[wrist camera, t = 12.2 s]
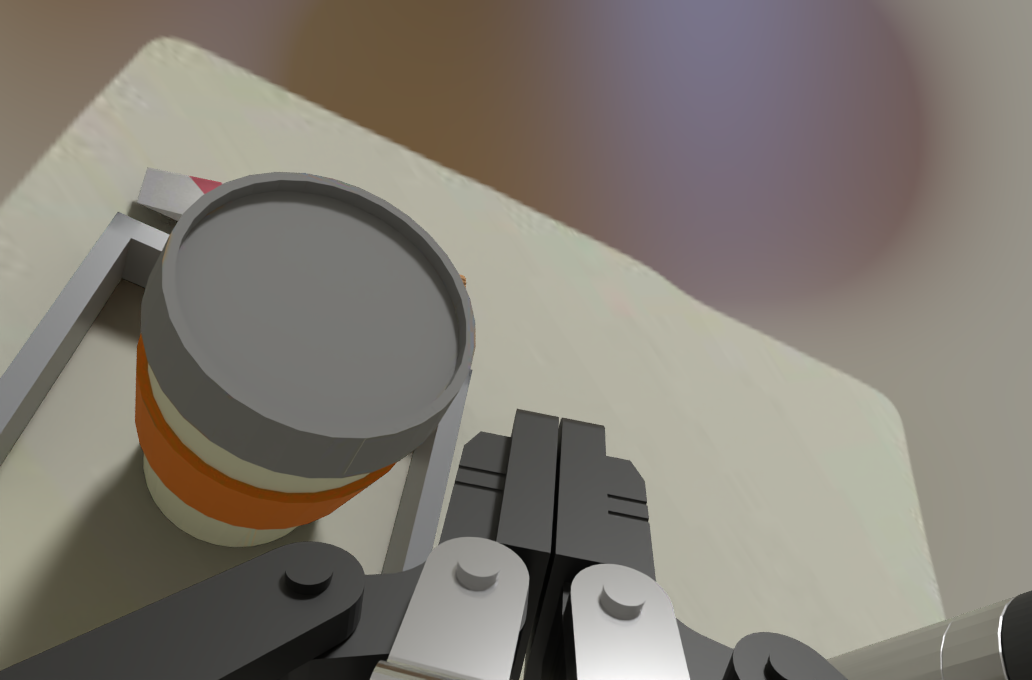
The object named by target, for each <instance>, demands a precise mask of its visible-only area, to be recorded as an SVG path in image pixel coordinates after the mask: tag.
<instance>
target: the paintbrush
mask: <svg viewBox="0 0 1032 680" xmlns="http://www.w3.org/2000/svg"><path fill="white" fill-rule="evenodd" d="M222 184H224V183H221V182H216V181H212V180H207V179H202V178H197V177H192V176H187V175H182V174H177V173H173V172H168V171H163V170H158V169H153V168H148V167H147V170H146V174H145V177H144V180H143V184H142V187H141V190H140V194H139V197H138V200H137V203H139V204H141V205H143V206H146V207H148V208H150V209H152V210H154V211H157V212H159V213H161V214H163V215H165V216H168V217H170V218H172V219H174V220H176V221H179V219H180V217H181V216H182V214H183V213H184V212H185V211H186V210H187V209H188V208H189V207H190V206H191V205H192V204H194V203H195V202H196V201H197V200H198V199H199V198H200V197H201V196H202V195H204V194H206V193H208V192H209V191H211V190H213V189H215V188H217V187H218V186H220V185H222ZM460 277H461V279H462V281H463V284H464V286H465V288H466V278H465V277H464V276H463V275H460Z"/></svg>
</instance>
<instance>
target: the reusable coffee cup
mask: <svg viewBox="0 0 1032 680" xmlns="http://www.w3.org/2000/svg"><path fill="white" fill-rule="evenodd" d="M474 351H475V320H474V315H473V310H472V306H471V301H470V298H469V296H468V293H467V291H466V288H465V286H464V284H463V281H462V279H461V277H460V275H459V273H458V272H457V270H456V269H455V267H454V265H453V264H452V262H451V261H450V259H449V257H448V256H447V254H446V253H445V252H444V251H443V250H442V249H441V247H440V246H439V245H438V244H437V243H436V242H435V240H434V239H433V238H432V237H431V236H430V235H429V234H428V233H427V232H426V231H425V230H424V229H423V228H422V227H420V226H419V225H418V224H417V223H416V222H415V221H414V220H412V219H411V218H410V217H409V216H408V215H406V214H405V213H403V212H402V211H400V210H399V209H397V208H396V207H394V206H393V205H391V204H390V203H388V202H387V201H385V200H383V199H381V198H379V197H377V196H375V195H373V194H371V193H369V192H367V191H365V190H363V189H361V188H359V187H356V186H353V185H350V184H347V183H344V182H341V181H338V180H335V179H332V178H327V177H322V176H317V175H311V174H306V173H289V172H273V173H264V174H256V175H249V176H246V177H242V178H239V179H236V180H233V181H230V182H226V183H224V184H222V185H220V186H218V187H217V188H215V189H213V190H211V191H209V192H208V193H206V194H204V195H202V196H201V197H200V198H199V199H198V200H197V201H196V202H195V203H194V204H192V205H191V206H190V207H189V208H188V209H187V210H186V211H185V212H184V213H183V214H182V216H181V217H180V219H179V221H178V222H177V224H176V226H175V227H174V229H173V230H172V232H171V234H170V235H169V237H168V239H167V241H166V243H165V245H164V247H163V249H162V252H161V254H160V256H159V258H158V260H157V262H156V264H155V266H154V268H153V270H152V272H151V274H150V276H149V278H148V282H147V285H146V289H145V292H144V295H143V299H142V302H141V334H140V338H139V341H138V345H137V366H136V406H135V424H136V428H137V433H138V438H139V442H140V446H141V448H142V450H143V452H144V464H143V470H144V474H145V479H146V484H147V487H148V489H149V491H150V493H151V496H152V498H153V500H154V502H155V503H156V505H157V506H158V507H159V509H160V510H161V511H162V513H163V514H164V515H165V516H166V517H167V518H168V519H169V520H170V521H171V522H172V523H174V524H175V525H176V526H177V527H178V528H179V529H181V530H183V531H184V532H186V533H188V534H190V535H191V536H193V537H195V538H197V539H200V540H203V541H206V542H208V543H211V544H214V545H221V546H228V547H252V546H256V545H261V544H265V543H269V542H272V541H274V540H276V539H278V538H281V537H283V536H285V535H287V534H288V533H290V532H291V531H292V530H294V529H295V528H297V527H298V526H300V525H305V524H309V523H311V522H313V521H315V520H318V519H320V518H322V517H324V516H327V515H329V514H330V513H332V512H333V511H335V510H336V509H337V508H339V507H340V506H341V505H343V504H344V503H346V502H347V501H348V500H350V499H351V498H353V497H354V496H355V495H357V494H358V493H360V492H361V491H362V490H364V489H365V488H367V487H368V486H369V485H371V484H372V483H374V482H375V481H376V480H378V479H379V478H381V477H382V476H383V475H385V474H386V473H387V472H389V471H390V469H391V468H392V467H393V466H394V465H395V464H396V463H397V462H398V461H400V460H401V459H403V458H404V457H405V456H407V455H408V454H409V453H411V452H412V451H414V450H415V449H416V448H418V447H419V446H421V444H422V443H423V442H424V441H425V440H426V439H427V437H428V436H429V435H430V434H431V433H432V432H433V430H434V429H435V428H436V427H437V426H438V424H439V422H440V421H441V419H442V418H443V416H444V414H445V413H446V411H447V410H448V408H449V406H450V405H451V403H452V402H453V400H454V398H455V397H456V395H457V394H458V392H459V390H460V389H461V387H462V385H463V383H464V381H465V379H466V377H467V375H468V373H469V371H470V368H471V364H472V360H473V355H474Z"/></svg>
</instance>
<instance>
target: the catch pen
mask: <svg viewBox="0 0 1032 680" xmlns="http://www.w3.org/2000/svg"><path fill="white" fill-rule="evenodd" d="M168 237H169V234H167V233H164V232H162V231H160V230H158V229H156V228H153V227H151V226H149V225H147V224H144V223H142V222H140V221H138V220H135V219H133V218H131V217H129V216H126V215H124V214H122V213H120V212H117V214H116V215H115V217H114V218H113V219H112V221H111V222H110V224H109V225H108V226H107V228H106V229H105V231H104V232H103V234H102V235H101V236H100V238H99V239H98V241H97V242H96V244H95V245H94V246H93V248H92V249H91V251H90V252H89V253H88V255H87V256H86V258H85V259H84V261H83V262H82V263H81V265H80V266H79V268H78V269H77V270H76V272H75V273H74V275H73V276H72V278H71V279H70V280H69V282H68V283H67V285H66V286H65V288H64V289H63V290H62V292H61V293H60V295H59V296H58V297H57V299H56V300H55V302H54V303H53V305H52V306H51V307H50V309H49V310H48V312H47V313H46V315H45V316H44V317H43V319H42V320H41V322H40V323H39V324H38V326H37V327H36V329H35V330H34V332H33V333H32V334H31V336H30V337H29V339H28V340H27V342H26V343H25V344H24V346H23V347H22V349H21V350H20V351H19V353H18V354H17V356H16V357H15V359H14V360H13V361H12V363H11V364H10V366H9V367H8V369H7V370H6V371H5V373H4V374H3V376H2V377H1V378H0V466H1V464H2V463H3V461H4V459H5V458H6V456H7V455H8V453H9V452H10V450H11V449H12V447H13V446H14V444H15V442H16V441H17V439H18V438H19V436H20V435H21V433H22V432H23V430H24V429H25V427H26V425H27V424H28V422H29V421H30V419H31V418H32V416H33V415H34V413H35V411H36V410H37V408H38V407H39V405H40V404H41V402H42V401H43V399H44V398H45V396H46V394H47V393H48V391H49V390H50V388H51V387H52V385H53V384H54V382H55V381H56V379H57V377H58V376H59V374H60V373H61V371H62V370H63V368H64V367H65V365H66V364H67V362H68V360H69V359H70V357H71V356H72V354H73V353H74V351H75V350H76V348H77V347H78V345H79V343H80V342H81V340H82V339H83V337H84V336H85V334H86V333H87V331H88V330H89V328H90V326H91V325H92V323H93V322H94V320H95V319H96V317H97V316H98V314H99V312H100V311H101V309H102V308H103V306H104V305H105V303H106V302H107V300H108V299H109V297H110V295H111V294H112V292H113V291H114V289H115V288H116V286H117V285H118V283H119V282H120V280H121V278H123V279H125V280H128V281H130V282H132V283H135V284H137V285H139V286H142V287H144V288H146V285H147V282H148V278H149V276H150V274H151V272H152V270H153V268H154V266H155V264H156V262H157V260H158V258H159V256H160V254H161V252H162V249H163V247H164V245H165V243H166V241H167V239H168ZM471 374H472V370H471V369H470V371H469V373H468V375H467V377H466V379H465V381H464V383H463V385H462V387H461V389H460V390H459V392H458V394H457V395H456V397H455V398H454V400H453V402H452V403H451V405H450V406H449V408H448V410H447V411H446V413H445V414H444V416H443V418H442V419H441V421H440V422H439V424H438V426H437V427H436V428H435V429H434V430H433V432H432V433H431V434H430V435H429V436H428V437H427V439H426V440H425V441H424V442H423V443H422V444H421V446H419V447H418V448H416V449H415V450H414V452H413V456H412V460H411V464H410V467H409V471H408V475H407V479H406V483H405V486H404V490H403V494H402V498H401V502H400V506H399V509H398V513H397V517H396V521H395V525H394V528H393V532H392V536H391V540H390V544H389V548H388V551H387V555H386V559H385V563H384V567H383V570H382V574H390V573H398V572H402V571H406V570H409V569H412V568H414V567H416V566H418V565H420V564H422V563H424V562H425V561H426V560H427V558H428V556H429V554H430V553H431V552H432V548H433V543H434V539H435V534H436V530H437V525H438V521H439V517H440V512H441V508H442V503H443V499H444V494H445V490H446V485H447V481H448V476H449V472H450V467H451V463H452V458H453V454H454V450H455V445H456V441H457V436H458V432H459V427H460V423H461V418H462V414H463V409H464V405H465V400H466V396H467V391H468V387H469V382H470V378H471Z"/></svg>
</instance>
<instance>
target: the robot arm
mask: <svg viewBox="0 0 1032 680" xmlns="http://www.w3.org/2000/svg"><path fill="white" fill-rule="evenodd" d="M558 426H559V428H558ZM646 503H647V498H646V489H645V481H644V480H643V478H642V477H641V475H640V474H639V472H638V471H637V470H636V468H635V467H634V465H633V464H632V462H631V461H629V460H624V459H619V458H614V457H609V456H606V446H605V427H604V426H602V425H597V424H592V423H587V422H582V421H577V420H572V419H567V418H562V419H561V421H560V424H559V417H556V416H551V415H546V414H541V413H536V412H530V411H525V410H520V409H517V411H516V415H515V420H514V424H513V429H512V434H511V437H506V436H501V435H496V434H491V433H486V432H480V433H478V434H477V435H476V436H475V437H474V438H473V439H471V440H470V441H469V442H468V443H467V444H466V445H464V448H463V452H462V456H461V460H460V464H459V468H458V472H457V475H456V479H455V484H454V487H453V491H452V495H451V499H450V503H449V507H448V510H447V514H446V518H445V522H444V526H443V530H442V534H441V538H440V542H439V544H438V546H437V547H436V548H434V549H433V550H432V552H431V553H430V554H429V556H428V558H427V560H426V561H425V562H424V563H422V564H420V565H418V566H416V567H414V568H412V569H409V570H406V571H402V572H398V573H390V574H376V575H365V574H364V571H363V568H362V566H361V565H360V563H359V562H358V561H357V559H356V558H355V557H354V556H352V555H351V554H350V553H348V552H347V551H345V550H343V549H341V548H339V547H336V546H334V545H331V544H326V543H321V542H298V543H292V544H288V545H284V546H282V547H279V548H276V549H274V550H272V551H270V552H267V553H265V554H263V555H261V556H258V557H256V558H254V559H252V560H249V561H247V562H245V563H243V564H240V565H238V566H236V567H234V568H231V569H229V570H227V571H225V572H222V573H220V574H218V575H216V576H213V577H211V578H209V579H207V580H204V581H202V582H200V583H198V584H195V585H193V586H191V587H189V588H186V589H184V590H182V591H180V592H177V593H175V594H173V595H171V596H168V597H166V598H164V599H162V600H159V601H157V602H155V603H153V604H150V605H148V606H146V607H143V608H141V609H139V610H137V611H134V612H132V613H130V614H128V615H125V616H123V617H121V618H119V619H116V620H114V621H112V622H110V623H107V624H105V625H103V626H101V627H98V628H96V629H94V630H92V631H89V632H87V633H85V634H83V635H80V636H78V637H76V638H74V639H71V640H69V641H67V642H65V643H62V644H60V645H58V646H56V647H53V648H51V649H49V650H47V651H44V652H42V653H40V654H38V655H35V656H33V657H31V658H29V659H26V660H24V661H22V662H20V663H17V664H15V665H13V666H11V667H8V668H6V669H4V670H2V671H0V680H519V678H520V674H521V670H522V666H523V662H524V658H525V668H524V679H523V680H1032V591H1029V592H1026V593H1023V594H1020V595H1018V596H1016V597H1013V598H1010V599H1007V600H1004V601H1001V602H998V603H995V604H992V605H989V606H986V607H983V608H980V609H977V610H974V611H971V612H968V613H965V614H962V615H959V616H957V617H954V618H951V619H948V620H945V621H942V622H939V623H936V624H932V625H929V626H926V627H923V628H920V629H917V630H914V631H911V632H908V633H905V634H902V635H899V636H896V637H893V638H890V639H887V640H884V641H881V642H878V643H875V644H872V645H869V646H866V647H863V648H860V649H857V650H854V651H851V652H848V653H845V654H842V655H839V656H836V657H833V658H830V659H827V660H826V659H825V658H823V657H822V656H821V655H820V654H819V653H817V652H816V651H815V650H813V649H812V648H810V647H809V646H807V645H805V644H804V643H802V642H800V641H798V640H796V639H793V638H791V637H788V636H785V635H781V634H777V633H770V632H759V633H753V634H750V635H747V636H745V637H744V638H742V639H741V640H740V641H739V642H738V643H737V644H736V646H735V648H734V649H731V648H729V647H727V646H725V645H723V644H720V643H718V642H716V641H714V640H711V639H709V638H707V637H705V636H703V635H701V634H699V633H697V632H695V631H693V630H692V629H690V628H689V627H687V626H685V625H684V624H683V623H682V622H680V621H679V620H678V619H677V618H676V617H675V613H674V608H673V605H672V602H671V600H670V598H669V596H668V595H667V593H666V592H665V591H664V589H663V588H662V587H661V586H660V585H659V584H658V583H657V582H656V578H655V569H654V560H653V551H652V543H651V534H650V525H649V523H648V520H649V516H648V507H647V506H646ZM525 654H526V657H525Z"/></svg>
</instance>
